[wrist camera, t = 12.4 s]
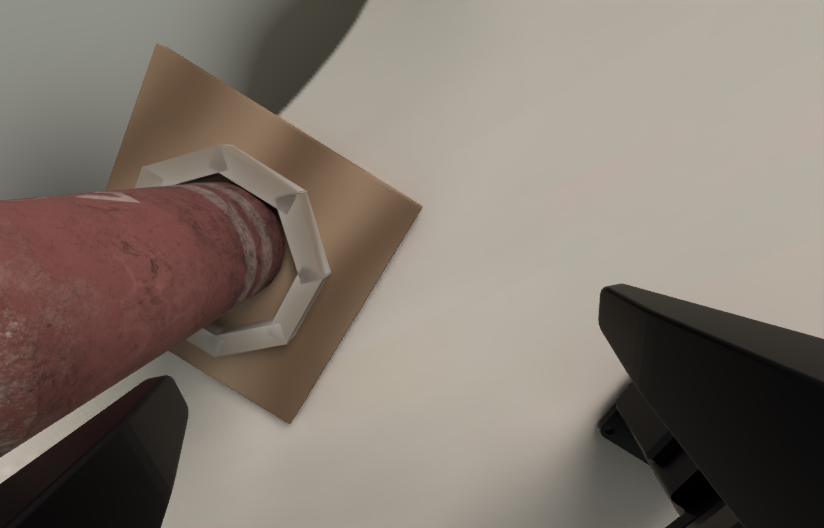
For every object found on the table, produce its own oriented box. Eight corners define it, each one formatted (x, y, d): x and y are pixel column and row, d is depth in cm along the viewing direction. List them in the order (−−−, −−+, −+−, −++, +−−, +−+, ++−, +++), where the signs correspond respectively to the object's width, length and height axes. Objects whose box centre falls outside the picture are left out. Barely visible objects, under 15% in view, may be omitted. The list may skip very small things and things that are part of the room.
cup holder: (422, 206, 21) (417, 211, 19) (295, 415, 25) (280, 437, 23) (168, 47, 20) (136, 36, 18) (82, 286, 25) (50, 297, 23)
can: (172, 275, 23) (-259, 444, 9) (191, 164, 21) (-306, 174, 7) (272, 313, 22) (-19, 545, 9) (301, 204, 21) (-8, 289, 7)
